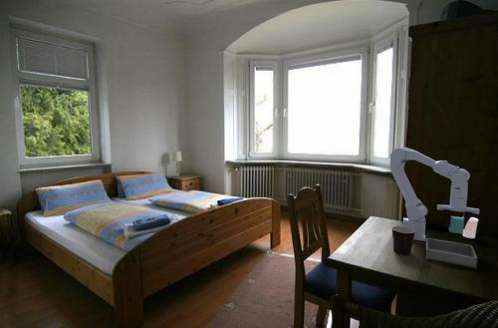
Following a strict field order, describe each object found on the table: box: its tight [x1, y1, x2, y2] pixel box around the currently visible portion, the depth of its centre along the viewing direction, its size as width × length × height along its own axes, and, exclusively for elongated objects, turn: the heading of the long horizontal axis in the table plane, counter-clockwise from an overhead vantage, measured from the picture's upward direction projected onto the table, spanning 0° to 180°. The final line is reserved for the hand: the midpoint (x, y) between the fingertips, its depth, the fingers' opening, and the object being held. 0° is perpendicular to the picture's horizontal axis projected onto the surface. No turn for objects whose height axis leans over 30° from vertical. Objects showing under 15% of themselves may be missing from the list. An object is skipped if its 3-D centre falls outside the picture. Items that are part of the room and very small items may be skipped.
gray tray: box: [425, 237, 479, 269], centre depth 115 cm, size 16×14×4 cm
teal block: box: [448, 215, 464, 235], centre depth 123 cm, size 4×4×6 cm
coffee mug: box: [391, 225, 415, 256], centre depth 118 cm, size 12×9×10 cm
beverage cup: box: [462, 216, 479, 239], centre depth 135 cm, size 6×6×14 cm
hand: (456, 227), depth 123 cm, fingers closed on teal block, 4 cm apart
